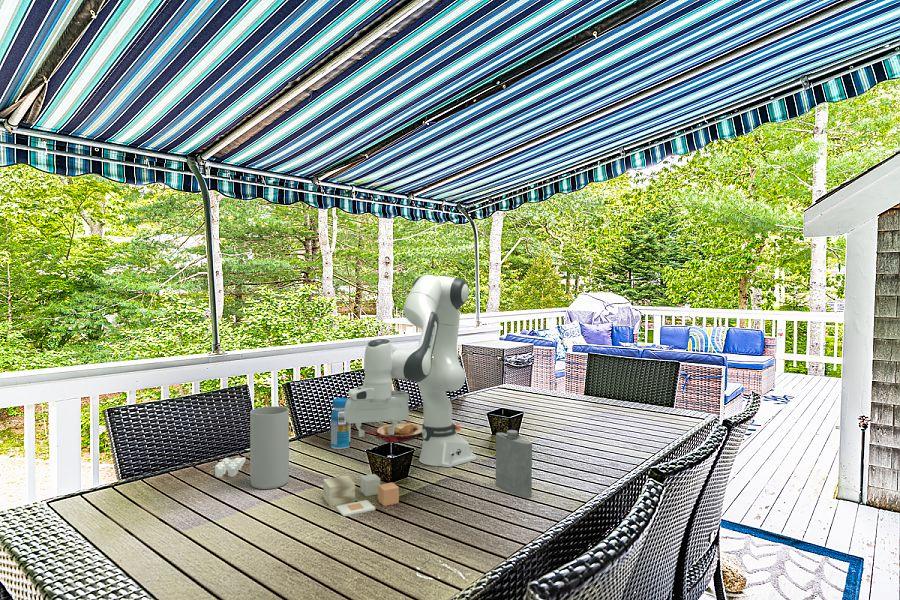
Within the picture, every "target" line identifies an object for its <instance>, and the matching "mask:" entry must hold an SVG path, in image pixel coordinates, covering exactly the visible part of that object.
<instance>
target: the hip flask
mask: <svg viewBox="0 0 900 600" xmlns="http://www.w3.org/2000/svg"><path fill="white" fill-rule="evenodd" d="M532 478H533V442H532V441H530V440H525V439H522V438H518V430H514V429H508V430H506V433H505V432H496V433H495V486H497V487H499V488H500V489H503V490H504V491H506V492H509V493H511V494H514V495H516V496H519V497H521V498H525V499H527V498H528V499H529V498H532V496H533V495H532V490H533V489H532V487H533V486H532V483H533V482H532V481H533V479H532Z"/></svg>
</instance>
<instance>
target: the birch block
mask: <svg viewBox="0 0 900 600" xmlns="http://www.w3.org/2000/svg"><path fill="white" fill-rule="evenodd" d="M322 480H323V481H322V482H323V485H322V486H323V487H322V490H323V493H322V494H323V496H322V497H323V499H324V500H325V502H326V503H327V505H328V506H329V507H336V506H339V505H344V504H349V503H354V502H356V483H355V482H354V481H353V479H352V478H350V476H349V475H344V476H343V475H342V476H337V477H329V478H324V479H322Z"/></svg>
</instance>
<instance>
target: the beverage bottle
mask: <svg viewBox="0 0 900 600" xmlns="http://www.w3.org/2000/svg"><path fill="white" fill-rule="evenodd" d="M348 399H349V397H348V398H347V397H336V398H333V399H332V408H333V410H332V412H331V414H330V418H331V419H330V448H331V449H334V450H344V449H348V448H350V447H351V445H352V443H351V430H352V429H351V426H352V423H351V424H348V423H347V422H346V421H345V420H344V411H345V405H346V402H347V400H348Z"/></svg>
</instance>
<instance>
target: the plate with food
mask: <svg viewBox="0 0 900 600" xmlns="http://www.w3.org/2000/svg"><path fill="white" fill-rule="evenodd" d="M406 423H408V424H406ZM392 424H393V423H392ZM392 424H391V423H390V424H384V425H382V426H378V427H376V428H375V429H374V430H370V431H367V434H372V435H374V434H375V435H377V436H375V435H374V436H375V438H376V439H380V440H381V439H383V441H385V442H389V443H399V442H401V441H402V442H406V441H407V440H411V439H417V436H415V435H419V434H422V426H423V424H419V423H411V422H409V421H406V422H403V423H398V424H397V426H396V428H395V429H394V435H389V434H388V428H391V426H392Z"/></svg>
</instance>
